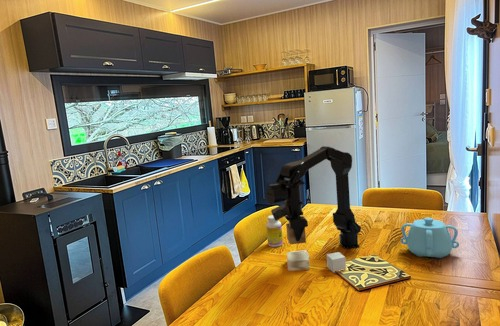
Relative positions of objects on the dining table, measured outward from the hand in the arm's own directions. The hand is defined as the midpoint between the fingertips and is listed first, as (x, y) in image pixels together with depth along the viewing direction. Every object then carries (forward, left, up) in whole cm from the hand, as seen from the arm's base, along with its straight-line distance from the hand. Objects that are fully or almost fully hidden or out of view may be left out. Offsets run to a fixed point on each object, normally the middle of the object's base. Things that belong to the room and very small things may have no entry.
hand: (296, 238), depth 139 cm
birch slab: (0, 0, -11) cm, 11 cm away
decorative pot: (-50, +2, -11) cm, 51 cm away
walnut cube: (0, 0, -1) cm, 1 cm away
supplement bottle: (+6, -23, -11) cm, 26 cm away
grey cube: (-13, +6, -11) cm, 18 cm away
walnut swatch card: (-2, -9, -11) cm, 14 cm away
